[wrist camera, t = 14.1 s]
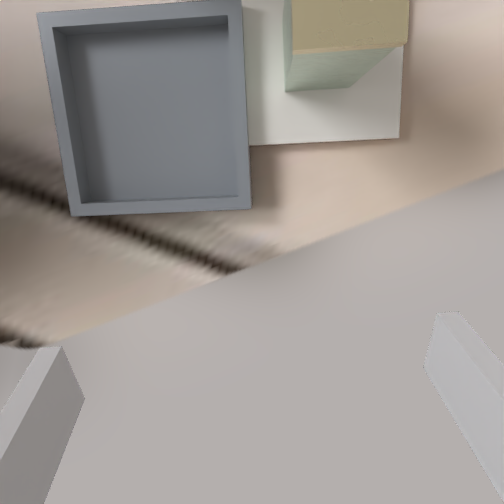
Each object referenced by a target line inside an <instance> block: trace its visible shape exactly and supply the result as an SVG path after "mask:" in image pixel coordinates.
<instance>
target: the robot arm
mask: <svg viewBox="0 0 504 504" xmlns="http://www.w3.org/2000/svg"><path fill="white" fill-rule="evenodd" d="M423 368H424V370H425V372H426V373H427V375H428V377H429V378H430V380H431V382H432V384H433V385H434V387H435V388H436V390H437V392H438V393H439V395H440V397H441V399H442V400H443V402H444V404H445V405H446V407H447V409H448V410H449V412H450V414H451V415H452V417H453V419H454V421H455V422H456V424H457V426H458V427H459V429H460V431H461V432H462V434H463V435H464V437H465V439H466V441H467V442H468V444H469V446H470V447H471V449H472V451H473V452H474V454H475V456H476V457H477V459H478V461H479V463H480V464H481V466H482V467H483V469H484V471H485V473H486V474H487V476H488V478H489V479H490V481H491V483H492V484H493V486H494V488H495V489H496V491H497V493H498V494H499V496H500V498H501V500H502V501H503V503H504V365H503V364H502V362H501V361H500V360H499V359H498V358H497V356H496V355H495V354H494V353H493V352H492V350H491V349H490V348H489V347H488V346H487V345H486V343H485V342H484V341H483V340H482V339H481V337H480V336H479V335H478V334H477V333H476V332H475V330H474V329H473V328H472V327H471V326H470V325H469V323H468V322H467V321H466V320H465V319H464V317H463V316H462V315H461V314H460V313H459V312H458V311H456V312H444V313H437V315H436V319H435V323H434V327H433V331H432V335H431V339H430V343H429V347H428V351H427V355H426V359H425V363H424V367H423ZM84 400H85V398H84V395H83V393H82V391H81V388H80V386H79V384H78V382H77V379H76V377H75V375H74V373H73V370H72V368H71V366H70V364H69V361H68V359H67V357H66V355H65V352H64V350H63V348H62V346H56V347H45V348H39V349H38V351H37V353H36V354H35V356H34V358H33V359H32V361H31V363H30V365H29V366H28V368H27V369H26V371H25V373H24V374H23V376H22V377H21V379H20V381H19V382H18V384H17V386H16V387H15V389H14V391H13V392H12V394H11V396H10V397H9V399H8V401H7V403H6V404H5V406H4V407H3V409H2V411H1V412H0V504H44V502H45V499H46V497H47V494H48V492H49V489H50V487H51V484H52V481H53V479H54V476H55V474H56V471H57V469H58V466H59V464H60V461H61V458H62V456H63V453H64V451H65V448H66V446H67V443H68V441H69V438H70V436H71V433H72V430H73V428H74V425H75V423H76V420H77V418H78V415H79V413H80V410H81V407H82V405H83V402H84Z"/></svg>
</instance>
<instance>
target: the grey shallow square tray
mask: <svg viewBox="0 0 504 504" xmlns="http://www.w3.org/2000/svg"><path fill="white" fill-rule="evenodd" d="M36 14H37V20H38V26H39V32H40V38H41V43H42V49H43V55H44V61H45V67H46V72H47V78H48V84H49V90H50V96H51V102H52V107H53V113H54V119H55V125H56V131H57V136H58V142H59V148H60V154H61V160H62V166H63V171H64V177H65V183H66V189H67V195H68V200H69V206H70V212H71V216H94V215H119V214H143V213H168V212H193V211H217V210H242V209H251V208H252V187H251V166H250V146H249V136H248V115H247V94H246V73H245V51H244V30H243V9H242V1H241V0H206V1H192V2H178V3H165V4H151V5H137V6H123V7H110V8H96V9H82V10H68V11H54V12H41V13H36Z"/></svg>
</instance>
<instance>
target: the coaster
mask: <svg viewBox="0 0 504 504" xmlns="http://www.w3.org/2000/svg"><path fill="white" fill-rule="evenodd" d="M241 1H242V9H243V30H244V51H245V73H246V94H247V115H248V136H249V146H256V145H276V144H295V143H315V142H335V141H355V140H375V139H395V138H399V129H400V109H401V90H402V70H403V51H404V45H403V46H402V47H396V48H395V49H394V50H393V51H392V52H390V53H389V54H388V55H387V56H386V57H385V58H383V59H382V60H381V61H380V62H379V63H377V64H376V65H375V66H374V67H373V68H372V69H370V70H369V71H368V72H367V73H366V74H365V75H363V76H362V77H361V78H360V79H359V80H358V81H356V82H355V83H354V84H353V85H352V86H351V87H349V88H338V89H323V90H308V91H293V92H285V91H284V58H283V26H282V19H283V8H284V0H241Z"/></svg>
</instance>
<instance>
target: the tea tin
mask: <svg viewBox="0 0 504 504" xmlns="http://www.w3.org/2000/svg"><path fill="white" fill-rule="evenodd" d="M409 3H410V0H284V8H283V19H282V26H283V58H284V91H285V92H293V91H308V90H323V89H338V88H349V87H351V86H352V85H353V84H354V83H355V82H356V81H358V80H359V79H360V78H361V77H362V76H363V75H365V74H366V73H367V72H368V71H369V70H370V69H372V68H373V67H374V66H375V65H376V64H377V63H379V62H380V61H381V60H382V59H383V58H385V57H386V56H387V55H388V54H389V53H390V52H392V51H393V50H394V49H395V48H396V47H402V46H403V45H404V44H406V43H407V42H408V25H409Z"/></svg>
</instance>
